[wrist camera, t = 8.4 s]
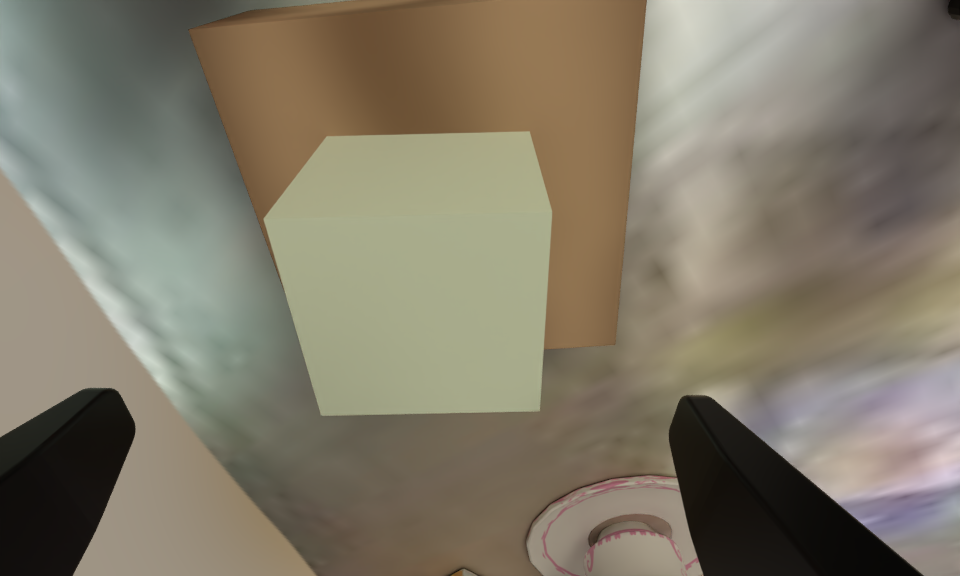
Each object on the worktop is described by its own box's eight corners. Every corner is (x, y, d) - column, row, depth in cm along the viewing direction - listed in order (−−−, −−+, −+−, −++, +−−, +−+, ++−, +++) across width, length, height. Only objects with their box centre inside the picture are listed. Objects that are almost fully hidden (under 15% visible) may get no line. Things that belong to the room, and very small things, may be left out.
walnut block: (608, -25, 14) (647, -14, 11) (592, 276, 20) (615, 344, 16) (254, 9, 14) (187, 29, 11) (338, 294, 20) (311, 364, 17)
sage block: (529, 131, 12) (552, 212, 9) (524, 296, 15) (539, 411, 12) (326, 136, 12) (263, 218, 9) (358, 300, 15) (321, 415, 12)
